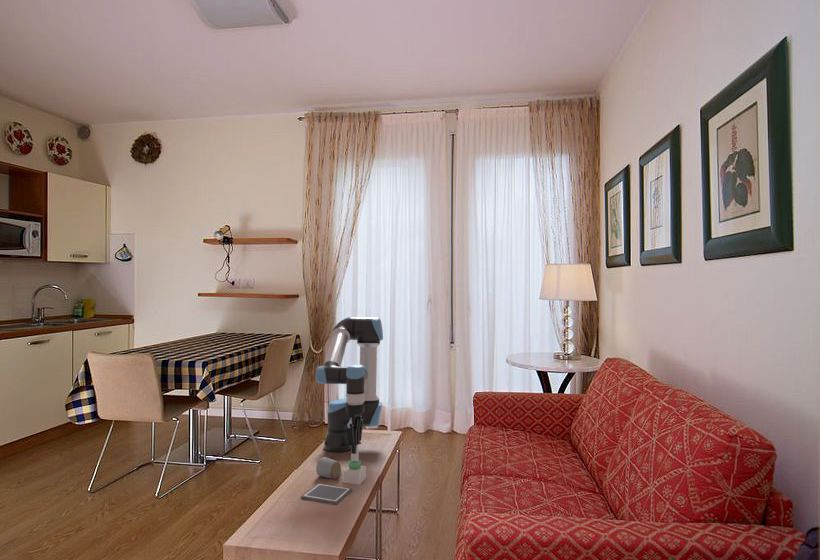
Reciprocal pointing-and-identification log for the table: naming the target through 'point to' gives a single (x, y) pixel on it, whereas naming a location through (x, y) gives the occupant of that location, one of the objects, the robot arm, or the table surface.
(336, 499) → the mat
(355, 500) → the table surface
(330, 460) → the ceramic mug
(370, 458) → the table surface
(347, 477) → the button box
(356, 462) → the button
